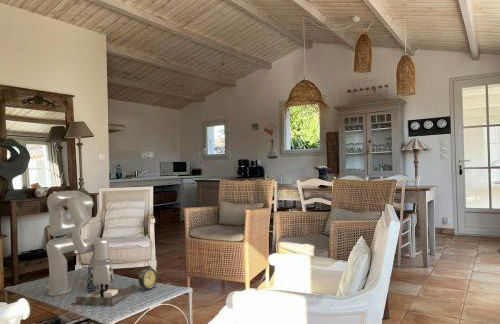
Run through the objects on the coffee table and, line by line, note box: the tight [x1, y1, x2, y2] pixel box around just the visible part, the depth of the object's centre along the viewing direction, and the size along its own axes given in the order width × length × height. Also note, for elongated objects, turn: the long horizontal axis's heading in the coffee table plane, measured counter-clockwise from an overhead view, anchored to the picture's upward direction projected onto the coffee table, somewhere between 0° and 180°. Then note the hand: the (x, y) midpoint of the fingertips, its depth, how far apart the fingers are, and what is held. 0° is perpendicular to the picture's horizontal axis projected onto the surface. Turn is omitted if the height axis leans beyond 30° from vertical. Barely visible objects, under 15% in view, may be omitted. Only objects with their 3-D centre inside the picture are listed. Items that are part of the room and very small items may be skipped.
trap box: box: [75, 283, 137, 307], centre depth 210 cm, size 22×22×4 cm
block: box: [104, 289, 118, 298], centre depth 202 cm, size 5×5×4 cm
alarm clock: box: [138, 261, 158, 293], centre depth 221 cm, size 11×5×16 cm, turn 148°
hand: (103, 296), depth 204 cm, fingers closed
